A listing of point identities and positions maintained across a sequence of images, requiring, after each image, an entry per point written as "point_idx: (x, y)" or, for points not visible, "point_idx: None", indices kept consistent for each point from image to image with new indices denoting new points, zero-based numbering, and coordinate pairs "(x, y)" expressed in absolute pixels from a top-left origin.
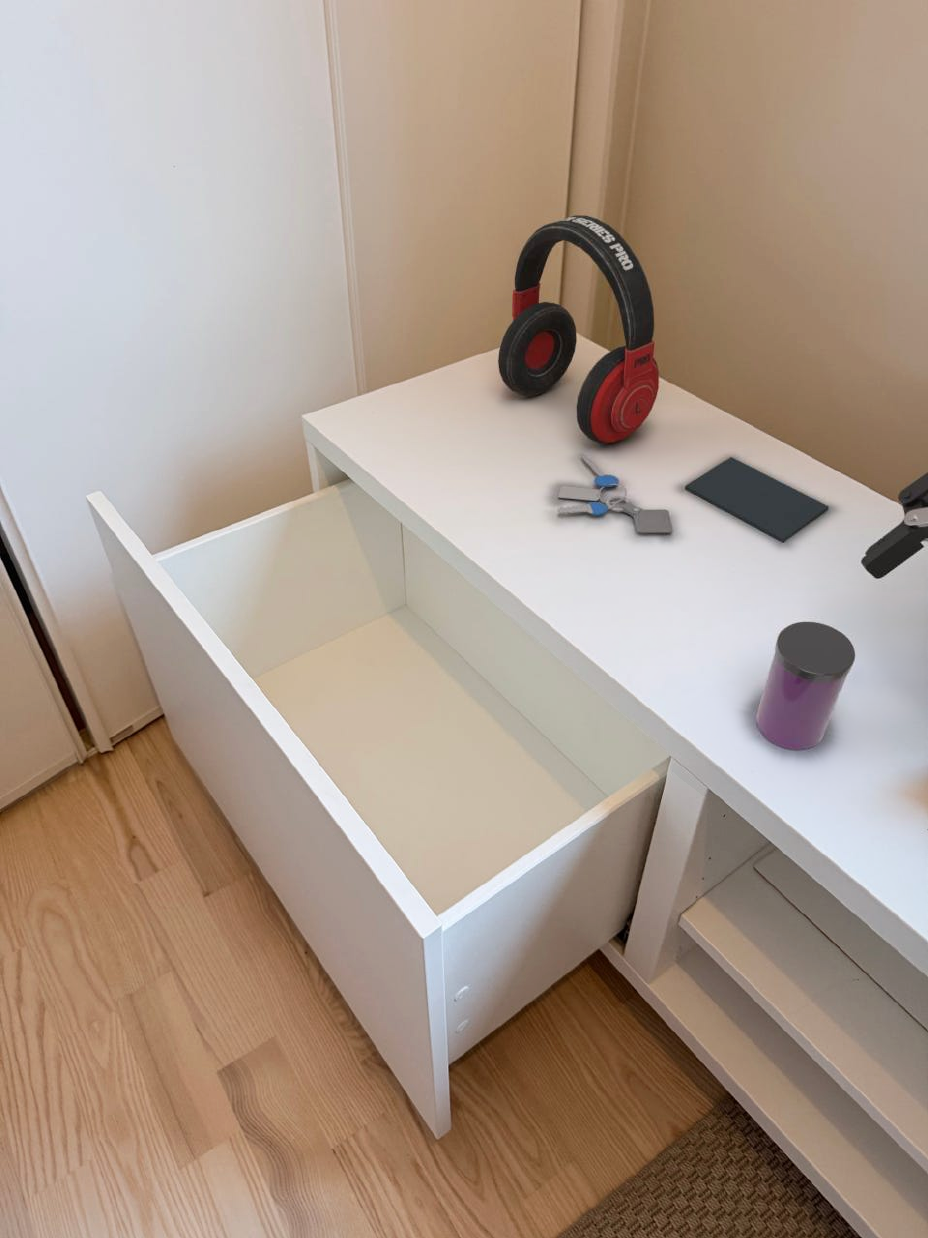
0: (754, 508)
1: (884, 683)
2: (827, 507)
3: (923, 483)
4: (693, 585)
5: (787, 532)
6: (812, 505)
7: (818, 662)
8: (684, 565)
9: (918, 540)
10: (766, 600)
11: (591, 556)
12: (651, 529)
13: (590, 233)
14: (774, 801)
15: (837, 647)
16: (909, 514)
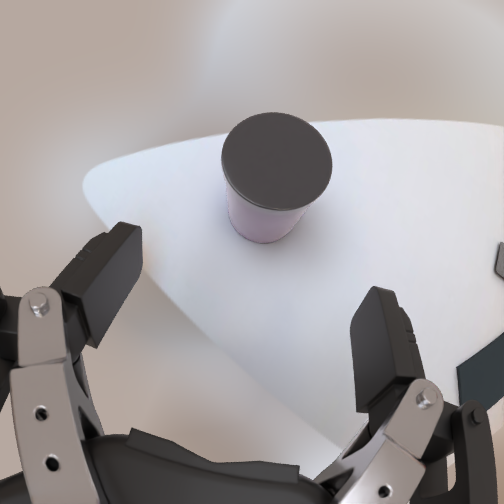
0: (490, 362)
1: (264, 340)
2: None
3: (482, 456)
4: (447, 248)
5: (462, 376)
6: None
7: (252, 141)
8: (467, 258)
9: (372, 398)
10: (411, 303)
11: (486, 193)
12: (501, 253)
13: None
14: (197, 143)
15: (264, 182)
16: (436, 394)
